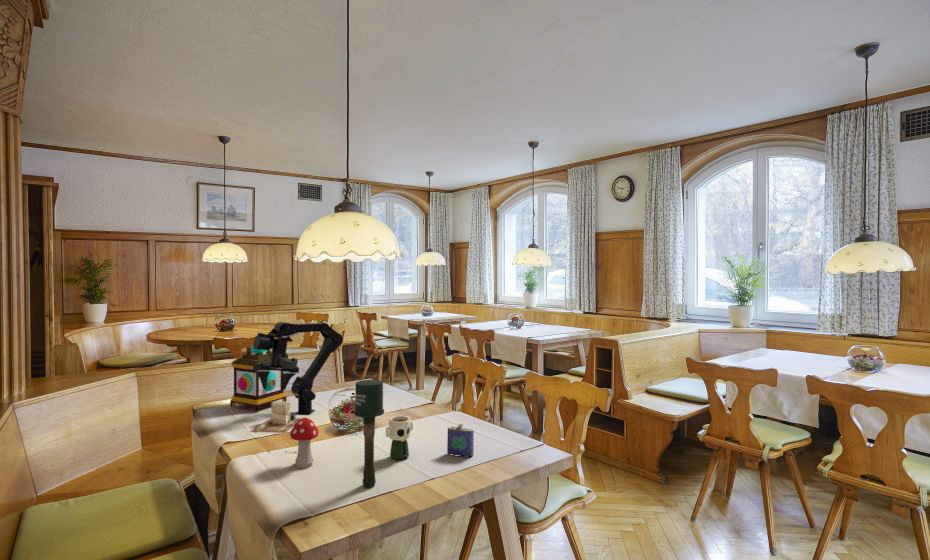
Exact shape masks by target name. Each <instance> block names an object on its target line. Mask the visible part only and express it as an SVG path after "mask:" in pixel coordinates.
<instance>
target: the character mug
mask: <svg viewBox="0 0 930 560" xmlns="http://www.w3.org/2000/svg"><path fill="white" fill-rule="evenodd" d="M413 430H414V422H413V420H411V417H410V416H406V415H396V416H392V417H391V416H390V418H389V419H388V426H386V427H385V437H386V438H389V439H390V440H391V445H390V453H389V457H391V458H392V459H394V460H404V459H405V458H409V456H410V451H409V444H408V439H409V438H410V436H411V431H413Z"/></svg>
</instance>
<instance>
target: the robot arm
mask: <svg viewBox="0 0 930 560" xmlns="http://www.w3.org/2000/svg"><path fill="white" fill-rule="evenodd" d="M315 332H319V334H320V335H321V336H322V337H323V340H322V344H321V345H322V346H321V349H320V350H319V351H318V353H317V355H316V356H315V358H314V359H313V361H312V362H311V364H310V365H309V367H308V368H307V370H306V371H305V373H304V374H303V375H302V376H296V375H297V374H299V373H300V367H299V365H298V358H297V357H292V358H289V355H288V354H287V349H288V343H292V342H293V341H294V340H293V339H292V338H291V336H293V335H296V334H298V333H299V334H301V333H315ZM343 337H344V336H343V335H342V334H340V333H339V332H337V331H336V330H335V329H333V328H332V327H331V326H330V325H329V324H328V323H327V322H322V321H320V322H310V323H309V322H308V323H307V322H306V323H305V322H304V323H292V322H285V321H278V322H276V324H275V325H274V326H273V328H272V329H271V330H270V331H269V332H268V333H261V332H257V334H256V336H255V337H254V339H253V342H252V346H253V348H254V349H257V350H267V351H270V350H271V353H272V354H270V355H269V356H271V362H270V364H266V363H255V365H254V366H253V370H258V371H256V373H257V374H258V376H259V378H260V380H261V383H262V386H263V389H266V386H267V379H268V375H269V373H270V372H268V370H277V371H283V373H282V389H283V391H285V390H286V389H287V386H288V384H289V382H290V380H291V378H293V377H294V376H296V378H295V379H294V381H293V382H292V383H291V385H292V386H291V387H290V388H291V393H292V394H293V395H294V396H295V399H297V406H298V407H297V411H296V412H295V413H294V414H295V415H301V416H302V415H306V416H308V415H311V414H312V413H314V412H315V411H316V410H315V409H313V405H312V404H313V403H312V402H313V401H314V400H315V398H316V395H317V394H316V393H315V392H313V391H312V388H313V385H314V382H315V381H314V380H315V379H316V377H317V375H319V373H320V371H321V370H322V368H323V367H324V365H325V363H326V362H327V361H328V358H329V357H330V356H331V354H332V353H333V352H335V351H336V350H338V348H339V347H341V346H342V344H343V342H344V338H343ZM274 367H276V368H274Z"/></svg>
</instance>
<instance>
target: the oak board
mask: <svg viewBox="0 0 930 560" xmlns="http://www.w3.org/2000/svg"><path fill="white" fill-rule="evenodd" d="M301 418H302V417H300V418H299V417H298V418H297V417H296V414H295V413H290V420H291V422H289V423H288V424H286V425H285V424H271V418H269V419H267V420H265V421H263V422H262V423H261V424H259V425H257V426H256V427H254V428H253V429H251V430H249V431H248V432H250V433H278V434H279V433H280V434H284V433H287V432H288V431H289V430H292V429H293V427H294V425H295V423H296V422H297V421H298V420H299V419H301Z"/></svg>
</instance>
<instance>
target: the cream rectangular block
mask: <svg viewBox="0 0 930 560" xmlns="http://www.w3.org/2000/svg"><path fill="white" fill-rule="evenodd" d="M270 405H271V417H270V419H271V424H285V425H286V424H288V423H289V422H291V420H290V414H291V401H286V402H282V401H274V402H272V403H270Z"/></svg>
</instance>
